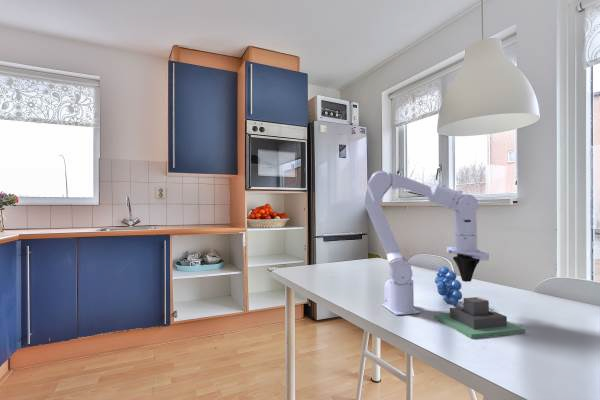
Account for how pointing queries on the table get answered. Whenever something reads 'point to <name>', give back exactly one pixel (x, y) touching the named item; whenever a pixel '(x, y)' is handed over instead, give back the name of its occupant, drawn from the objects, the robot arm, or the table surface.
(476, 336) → the board
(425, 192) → the robot arm
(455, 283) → the grapes
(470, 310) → the plug
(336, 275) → the table surface
